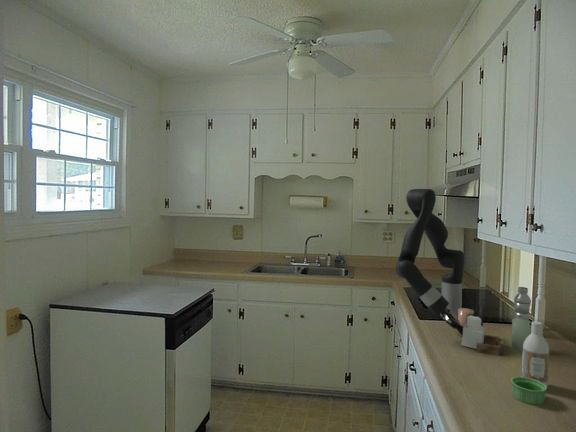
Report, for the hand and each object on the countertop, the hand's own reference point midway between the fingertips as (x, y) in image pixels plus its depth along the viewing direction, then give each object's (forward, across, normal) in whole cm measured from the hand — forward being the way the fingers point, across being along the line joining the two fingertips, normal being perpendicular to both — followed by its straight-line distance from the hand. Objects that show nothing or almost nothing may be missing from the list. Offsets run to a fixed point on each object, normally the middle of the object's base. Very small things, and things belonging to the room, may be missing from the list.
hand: (465, 334), depth 157 cm
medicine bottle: (+5, 0, +1) cm, 5 cm away
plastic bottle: (+19, +25, -13) cm, 34 cm away
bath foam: (+17, -29, -10) cm, 35 cm away
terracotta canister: (+3, +12, +3) cm, 12 cm away
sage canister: (+17, +5, -11) cm, 21 cm away
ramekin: (+14, -38, -8) cm, 42 cm away
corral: (+9, 0, -3) cm, 9 cm away
